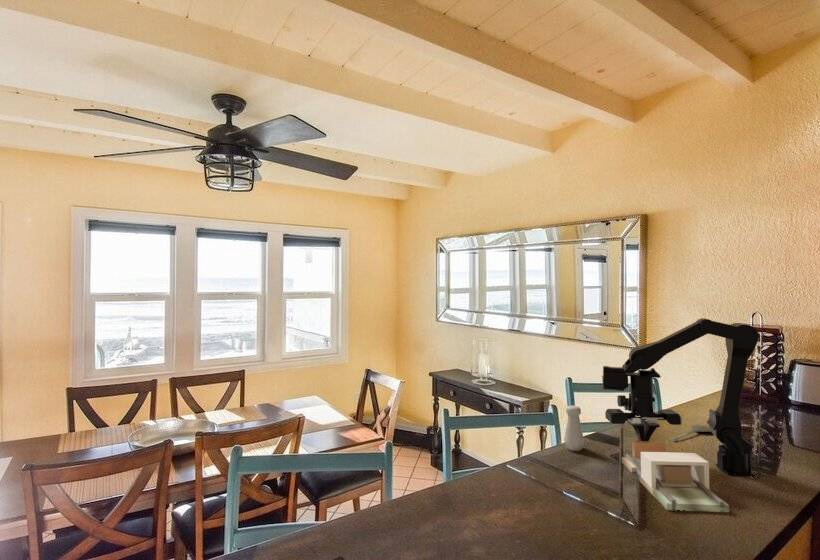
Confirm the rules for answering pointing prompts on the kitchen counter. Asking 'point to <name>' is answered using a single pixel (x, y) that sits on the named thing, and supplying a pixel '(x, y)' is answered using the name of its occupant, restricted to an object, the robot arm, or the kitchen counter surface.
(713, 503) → the track deck
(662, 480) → the sled
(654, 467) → the tunnel
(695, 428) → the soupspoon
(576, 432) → the salt shaker
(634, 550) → the kitchen counter surface
